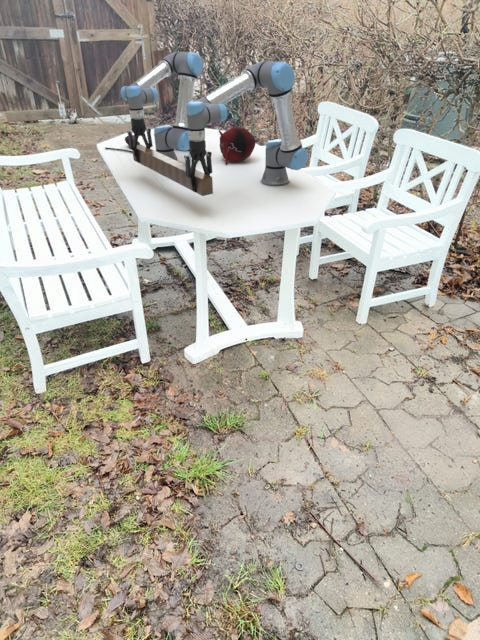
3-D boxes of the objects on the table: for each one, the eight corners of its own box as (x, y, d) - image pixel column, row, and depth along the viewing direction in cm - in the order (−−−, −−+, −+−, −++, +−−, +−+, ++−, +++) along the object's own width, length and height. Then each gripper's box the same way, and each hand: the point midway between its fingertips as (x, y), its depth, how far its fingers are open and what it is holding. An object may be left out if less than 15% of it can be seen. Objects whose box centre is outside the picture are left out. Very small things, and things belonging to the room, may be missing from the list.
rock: (137, 146, 338) (124, 147, 334) (135, 134, 334) (122, 135, 330) (142, 146, 329) (128, 148, 324) (140, 134, 325) (126, 135, 321)
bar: (133, 160, 263) (131, 146, 258) (142, 158, 265) (140, 144, 261) (202, 196, 211) (201, 179, 206) (213, 193, 213) (212, 176, 209)
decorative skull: (216, 133, 304) (216, 130, 280) (250, 125, 303) (253, 121, 280) (223, 165, 311) (223, 165, 287) (256, 157, 310) (259, 157, 286)
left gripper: (124, 121, 239) (130, 165, 252) (156, 116, 248) (160, 159, 261) (118, 119, 244) (125, 162, 257) (149, 114, 253) (154, 156, 266)
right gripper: (183, 144, 196) (187, 196, 209) (219, 138, 205) (220, 188, 218) (174, 141, 201) (179, 192, 214) (210, 135, 210) (212, 184, 223)
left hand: (143, 160), depth 259 cm, fingers closed on bar, 6 cm apart
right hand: (200, 190), depth 216 cm, fingers closed on bar, 6 cm apart
